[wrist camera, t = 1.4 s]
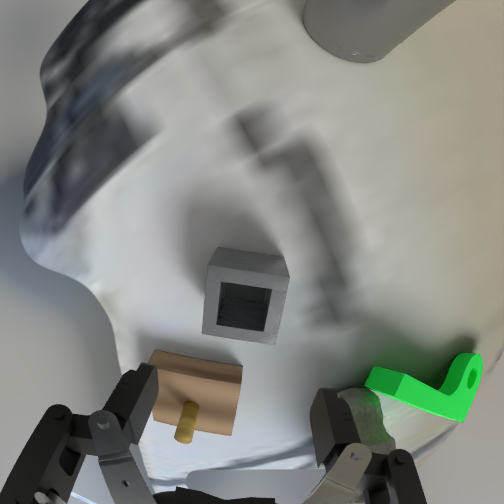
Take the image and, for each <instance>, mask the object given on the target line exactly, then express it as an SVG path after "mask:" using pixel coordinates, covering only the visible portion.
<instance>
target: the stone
mask: <svg viewBox="0 0 504 504" xmlns="http://www.w3.org/2000/svg"><path fill="white" fill-rule="evenodd" d="M337 397H338V398H343V399H344V400H345V401H346V402H347V403H348V404H349V406H350V409H351V412H352V415H353V418H354V422H355V425H356V428H357V431H358V434H359V437H360V440H361V443H362V444H364V445H365V446H367V447H368V448H369V449H370V451H371V452H373V453H379V454H387V455H388V454H389V453H390V452H391V451H393V450H395V449H396V443H395V440H394V438H393V437H391V436H390V435H389V434H388V433H387V432H386V429H385V427H384V425H383V413H382V410H381V404H380V399H379V397H378V396H377V395H376V394H375V393H374V392H373V391H370V390H368V389H365V388H349V389H345V390H342V391H340V392H338V393H337ZM354 491H355V493H354V495H353V497H352V499H351V500H350V502H349V503H348V504H365V500H364V494H363V490H361V489H354Z"/></svg>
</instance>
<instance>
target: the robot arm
mask: <svg viewBox="0 0 504 504" xmlns="http://www.w3.org/2000/svg"><path fill="white" fill-rule="evenodd" d="M454 1H456V0H307V1H306V4H305V8H304V12H303V21H304V25H305V28H306V30H307V32H308V33H309V35H310V36H311V37H312V39H313V40H314V41H315V42H316V43H317V44H318V45H319V46H321V47H322V48H323V49H325V50H326V51H327V52H329V53H331V54H333V55H335V56H337V57H339V58H342V59H344V60H347V61H352V62H356V63H370V62H375V61H377V60H380V59H382V58H383V57H384V56H385V55H387V54H388V53H389V52H390V51H391V50H393V49H394V48H395V47H396V46H398V45H399V44H400V43H401V42H403V41H404V40H405V39H406V38H408V37H409V36H410V35H411V34H413V33H414V32H415V31H416V30H418V29H419V28H420V27H421V26H423V25H424V24H425V23H426V22H428V21H429V20H430V19H432V18H433V17H434V16H435V15H437V14H438V13H439V12H441V11H442V10H443V9H445V8H446V7H448V6H449V5H450V4H452V3H453V2H454ZM158 392H159V382H158V371H157V366H155V365H151V364H147V363H143V362H142V363H141V364H140V366H139V368H138V369H137V371H135V370H129V371H128V372H126V373H125V374H123V376H122V377H121V379H120V381H119V383H118V384H117V386H116V388H115V389H114V391H113V393H112V394H111V396H110V397H109V399H108V401H107V402H106V404H105V406H104V408H103V409H102V410H100V411H96V412H94V413H92V414H91V415H88V416H86V415H79V414H72V412H71V410H70V409H69V408H68V407H66V406H65V405H61V404H56V405H52V406H51V407H49V408H48V409H47V411H46V412H45V414H44V415H43V417H42V419H41V420H40V422H39V424H38V425H37V427H36V428H35V430H34V432H33V433H32V435H31V437H30V439H29V440H28V442H27V443H26V445H25V447H24V449H23V450H22V452H21V454H20V456H19V458H18V460H17V461H16V463H15V465H14V467H13V469H12V471H11V473H10V475H9V477H8V478H7V481H6V483H5V485H4V487H3V489H2V491H1V493H0V504H67V502H68V499H69V497H70V494H71V491H72V489H73V486H74V483H75V481H76V478H77V476H78V473H79V471H80V469H81V466H82V464H83V461H84V459H85V457H86V454H87V455H95V456H98V458H99V460H98V462H99V465H100V468H101V471H102V474H103V476H104V479H105V481H106V484H107V486H108V489H109V491H110V494H111V496H112V498H113V501H114V503H115V504H277V503H275V498H256V497H255V498H254V497H249V498H241V499H231V500H223V499H220V498H218V497H215V496H212V495H209V494H206V493H204V492H201V491H196V490H191V489H186V488H181V487H177V486H176V490H175V491H166V492H160V493H156V494H153V495H152V494H151V492H150V490H149V489H148V487H147V485H146V483H145V481H144V479H143V477H142V475H141V473H140V471H139V469H138V467H137V465H136V462H135V460H134V458H133V456H132V454H131V452H130V450H129V446H130V444H131V443H133V444H136V445H138V443H139V441H140V438H141V436H142V433H143V431H144V428H145V426H146V423H147V421H148V418H149V416H150V414H151V411H152V409H153V406H154V404H155V402H156V399H157V396H158ZM310 423H311V429H312V435H313V441H314V447H315V453H316V460H317V466H318V468H325V469H326V474H325V475H324V476H323V478H322V479H321V480H320V482H319V483H318V484H317V486H316V487H315V488H314V489H313V490H312V492H311V493H310V495H308V497H307V498H306V499H305V500H304V501H303V502H302V504H348V503H349V502H350V500H351V499H352V497H353V495H354V493H355V491H354V489H361V490H363V494H364V500H365V504H427V502H426V499H425V496H424V492H423V489H422V486H421V482H420V479H419V476H418V473H417V470H416V467H415V464H414V461H413V458H412V456H411V454H410V453H409V452H407V451H406V450H403V449H395V450H393V451H391V452H390V453H389V454H388V455H387V454H379V453H373V452H371V451H370V449H369V448H368V447H367V446H365V445H364V444H362V443H361V440H360V437H359V434H358V431H357V428H356V425H355V422H354V418H353V415H352V412H351V409H350V406H349V404H348V403H347V402H346V401H345V400H344V399H343V398H338V397H337V393H336V390H335V389H327V388H320V389H319V390H318V392H317V395H316V397H315V399H314V402H313V404H312V406H311V409H310Z"/></svg>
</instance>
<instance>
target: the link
mask: <svg viewBox="0 0 504 504" xmlns="http://www.w3.org/2000/svg"><path fill="white" fill-rule="evenodd" d="M289 279H290V276H289V273H288V269H287V265H286V262H285V258H284V257H280V256H274V255H267V254H261V253H254V252H247V251H241V250H234V249H227V248H221V247H218V248H217V250H216V251H215V253H214V255H213V257H212V258H211V260H210V262H209V264H208V267H207V278H206V288H205V300H204V312H203V324H202V334H206V335H212V336H218V337H224V338H230V339H237V340H244V341H251V342H259V343H267V344H275V342H276V337H277V333H278V329H279V324H280V320H281V316H282V311H283V307H284V302H285V298H286V293H287V288H288V284H289ZM226 282H228V283H235V284H241V285H248V286H255V287H262V288H266V292H265V297H264V303H263V304H261V303H254V302H247V301H240V300H234V299H227V298H224V292H225V284H226Z"/></svg>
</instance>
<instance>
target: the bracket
mask: <svg viewBox="0 0 504 504" xmlns="http://www.w3.org/2000/svg"><path fill="white" fill-rule="evenodd" d="M482 369H483V362H482V357H481V355H480V354H474V353H460V354H459V355H458V356H457V357H456V358H455V359H454V361H453V362H452V364H451V367H450V369H449V372H448V374H447V377H446V379H445V382H444V383H443V385H442V386H441V388H440V389H439V390H435V389H433V388H431V387H430V386H428V385H426V384H424V383H422V382H420V381H418V380H416V379H414V378H412V377H411V376H409V375H407V374H405V373H401V372H397V371H393V370H389V369H385V368H381V367H376V366H374V367H373V368H372V371H371V373H370V375H369V377H368V379H367V381H366V383H365V385H364V386H365V387H367V388H369V389H372V390H374V391H376V392H379V393H381V394H383V395H386V396H388V397H391V398H393V399H396V400H398V401H401V402H403V403H406V404H408V405H411V406H413V407H416V408H418V409H421V410H424V411H426V412H429V413H432V414H435V415H439V416H442V417H445V418H449V419H452V420H456V421H459V422H464V419H465V417H466V415H467V413H468V410H469V408H470V406H471V403H472V401H473V398H474V396H475V393H476V391H477V388H478V385H479V382H480V379H481V375H482Z"/></svg>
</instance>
